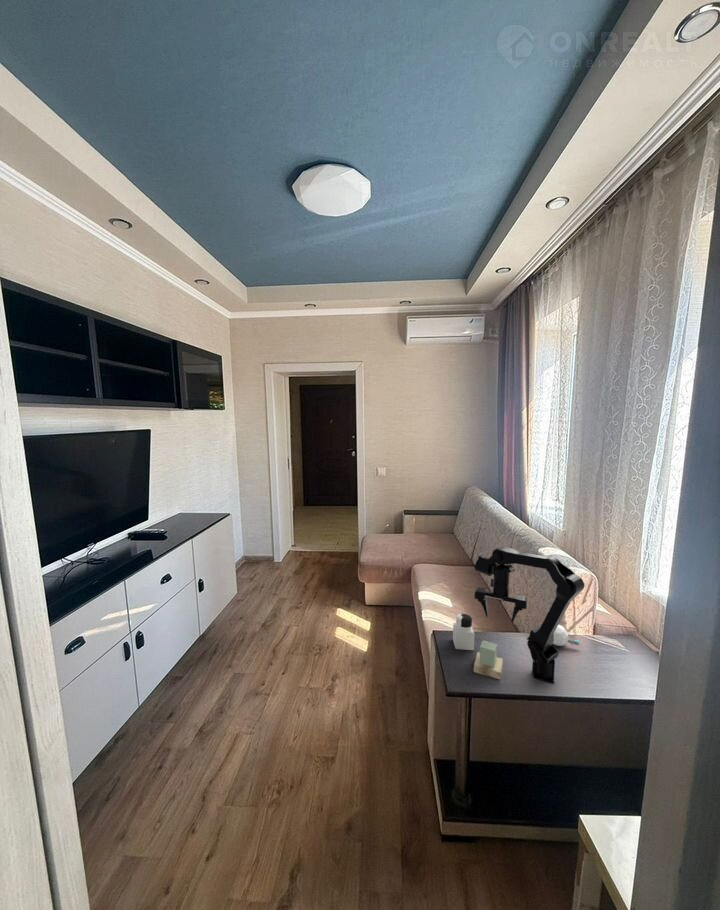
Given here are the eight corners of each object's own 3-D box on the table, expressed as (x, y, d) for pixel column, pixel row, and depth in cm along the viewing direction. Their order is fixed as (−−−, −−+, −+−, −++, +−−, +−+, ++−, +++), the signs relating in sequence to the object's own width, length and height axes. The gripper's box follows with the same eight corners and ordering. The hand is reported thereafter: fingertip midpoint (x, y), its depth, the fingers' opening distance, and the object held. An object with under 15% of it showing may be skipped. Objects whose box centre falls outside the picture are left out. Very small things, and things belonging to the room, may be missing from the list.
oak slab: (502, 666, 135) (502, 658, 135) (500, 681, 127) (500, 672, 127) (477, 659, 139) (477, 651, 139) (473, 673, 131) (474, 665, 131)
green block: (496, 660, 134) (497, 644, 133) (494, 667, 129) (494, 651, 129) (482, 655, 136) (483, 640, 136) (479, 662, 132) (480, 646, 132)
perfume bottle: (545, 626, 157) (577, 637, 151) (543, 644, 151) (576, 656, 146) (548, 617, 152) (582, 628, 146) (546, 635, 146) (581, 648, 141)
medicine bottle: (470, 640, 151) (471, 612, 150) (473, 650, 144) (475, 620, 143) (452, 639, 151) (453, 610, 151) (455, 649, 144) (456, 619, 144)
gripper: (528, 577, 145) (526, 615, 146) (479, 568, 153) (477, 605, 154) (527, 587, 135) (525, 628, 136) (475, 577, 143) (473, 616, 144)
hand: (499, 619), depth 143 cm, fingers open, 9 cm apart
